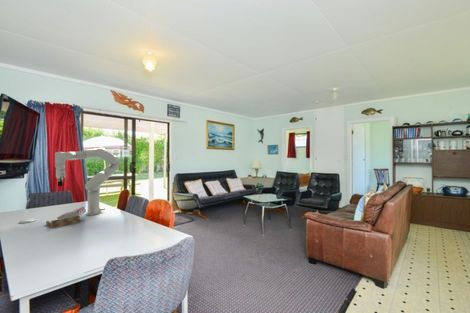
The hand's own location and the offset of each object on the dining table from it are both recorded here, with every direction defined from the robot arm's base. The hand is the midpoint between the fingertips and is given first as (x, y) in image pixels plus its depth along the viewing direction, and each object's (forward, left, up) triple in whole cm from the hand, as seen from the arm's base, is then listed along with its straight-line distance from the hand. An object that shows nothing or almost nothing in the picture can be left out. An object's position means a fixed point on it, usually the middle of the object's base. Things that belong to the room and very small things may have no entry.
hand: (60, 186), depth 206 cm
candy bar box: (+5, +21, -24) cm, 32 cm away
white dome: (+22, 0, -27) cm, 35 cm away
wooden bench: (+6, +29, -27) cm, 40 cm away
